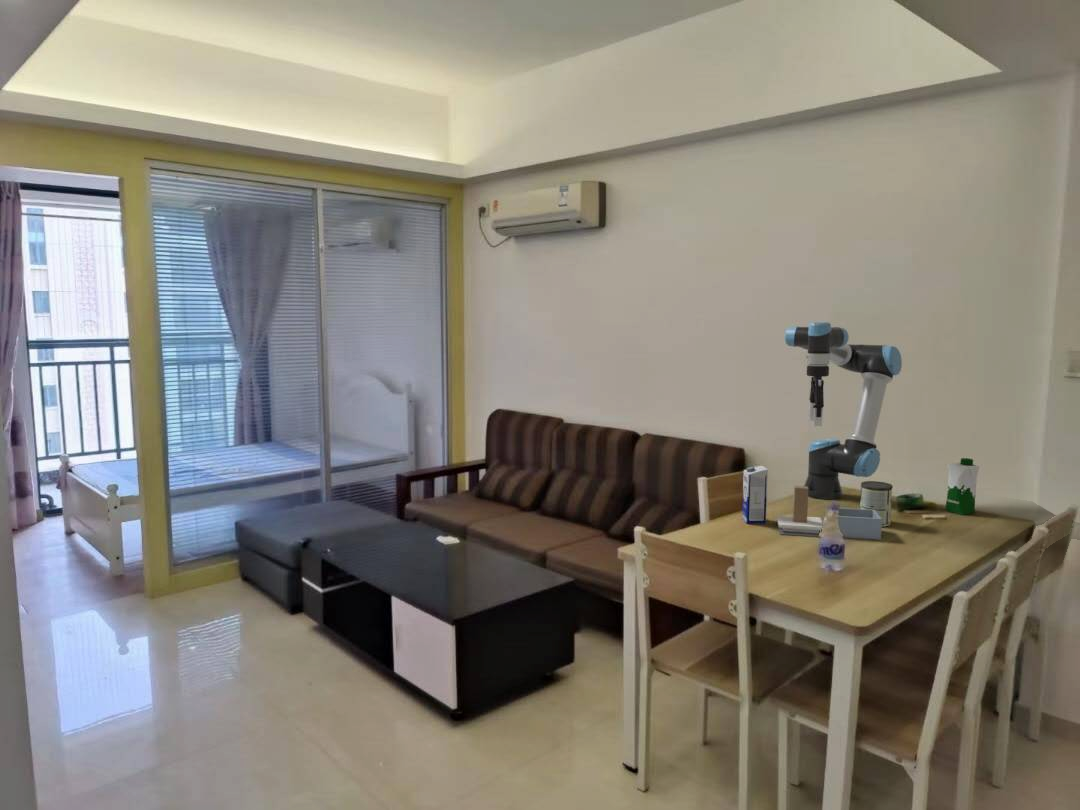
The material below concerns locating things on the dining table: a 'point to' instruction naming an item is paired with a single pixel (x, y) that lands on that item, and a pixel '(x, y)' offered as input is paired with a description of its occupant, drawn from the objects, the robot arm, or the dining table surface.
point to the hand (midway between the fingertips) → (815, 423)
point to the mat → (797, 533)
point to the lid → (800, 515)
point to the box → (859, 523)
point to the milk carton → (754, 495)
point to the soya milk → (961, 487)
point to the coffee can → (877, 499)
